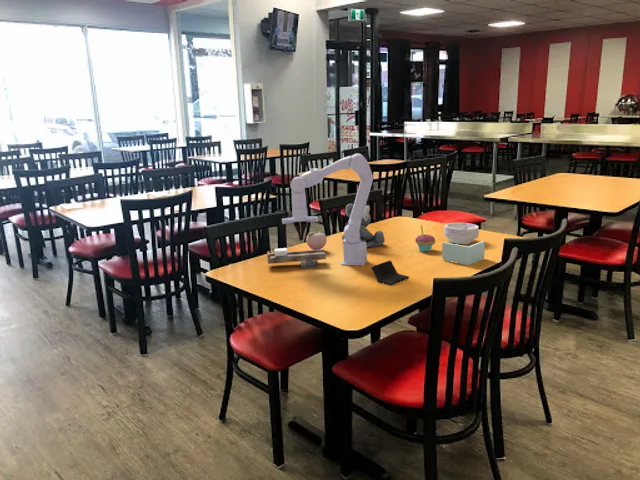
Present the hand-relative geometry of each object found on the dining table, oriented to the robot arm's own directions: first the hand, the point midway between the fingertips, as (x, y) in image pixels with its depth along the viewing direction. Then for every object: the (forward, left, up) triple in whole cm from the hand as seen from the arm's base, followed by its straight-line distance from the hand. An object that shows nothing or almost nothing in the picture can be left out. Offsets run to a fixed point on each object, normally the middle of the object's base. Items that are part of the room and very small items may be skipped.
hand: (301, 239), depth 210 cm
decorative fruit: (-1, -20, -11) cm, 22 cm away
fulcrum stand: (-3, 0, -10) cm, 11 cm away
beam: (+2, +2, -8) cm, 8 cm away
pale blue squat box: (-64, -15, -11) cm, 67 cm away
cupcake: (-48, -27, -11) cm, 56 cm away
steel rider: (+8, +4, -6) cm, 11 cm away
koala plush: (-18, -33, -11) cm, 39 cm away
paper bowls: (-63, -43, -11) cm, 77 cm away
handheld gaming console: (-38, +14, -11) cm, 42 cm away
